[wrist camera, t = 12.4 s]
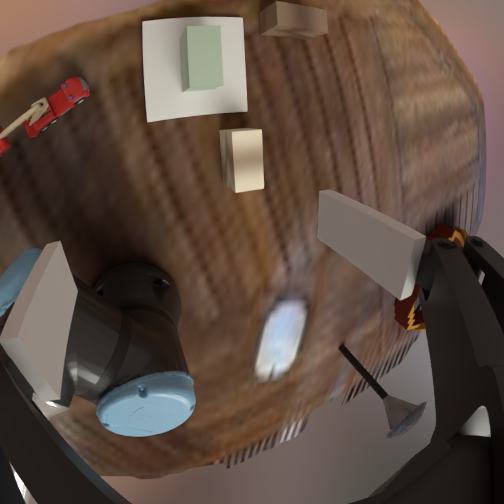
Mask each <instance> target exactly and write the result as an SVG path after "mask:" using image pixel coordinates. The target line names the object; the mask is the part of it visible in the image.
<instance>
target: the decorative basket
mask: <svg viewBox="0 0 504 504" xmlns="http://www.w3.org/2000/svg"><path fill="white" fill-rule="evenodd" d="M458 232H460V233H461V235H462V236H461V235H460V234H459V233H458ZM467 236H469V235H468V234H467V232H466V231H465V230H463V229H461V228H458V227H455V228H450V227H448V226H446V225H445V224H443V223H441V222H440V223H439V225H438V226H437V228H436V230H435V229H433V231H432V233H431V235H430V236H428V235H427V237H426V239H428V240H429V241H431V242H432V240H433V239H434V238H447V239H449V240H451V241H453V242H455V243H456V244H457V245H458V246H459V247H463V245H464V241H465V238H466V237H467ZM462 237H463V238H462ZM419 289H420V286H419V285H418V284H417V283H415V285H414V288H413V292H412V295H411V296H409V297H407V298H405V299H402V300H399V299H397V301H396V303H395V307H396V310H395V313H396V316H395V320H396V321H397V322H399V323H400V324H401V325H402V326H403V327H404V328H405V329H406V330H410V329H415V330H422V331H426V329H425V325H424V319H423V314H422V310H419V309H420V306H421V304H419V305H418V306H417V308H416V309H414V305H415V302H416V299H417V296H418V292H419ZM423 325H424V326H423Z"/></svg>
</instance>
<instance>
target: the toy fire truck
mask: <svg viewBox="0 0 504 504" xmlns="http://www.w3.org/2000/svg"><path fill="white" fill-rule="evenodd" d="M61 88H62V89H60V90H59V91H58V92H56V93H55V94H54V95H52V96H51V97H50V98H49V99H46V98H45V97H44V98H42V99H40V100H38V101H36V102H35V103H33V104H32V105H31V107H30V109H28V110H27V111H26V113H24V114H23V115H22V116H20V117H19V118H18V119H17V120H15V121H14V122H13V123H12V124H11V125H9V126H8V127H7V128H6V129H5V130H3V128H2V126H0V157H1V156H2V155H3V154H4V153H5V152H6V151H7V150H8V149H9V148H10V147H11V144H10V142H9V140H8V138H7V135H8V134H9V133H10V132H12V131H13V130H14V129H15V128H16V127H17V126H19V125H20V124H21V123H23V124H24V126H25V128H26V130H27V132H28V134H29V136H30V138H32V137H36V136H37V135H38V134H39V133H40V132H39V131H41V132H42V131H44V130H45V129H47V128H48V126H49V124H53V123H54V122H56V121H57V120H58V117H61V116H62V115H63V114H65V113H66V112H67V111H68V110H70V109H71V108H73V107H74V106H75V104H79V103H81V102H82V101H83V100H85V98H86V97H88V96H89V95H90V90H89V86H88V84H87V83H86V81H85V80H84V79H82V78H81V77H79V76H75V77H72V78H70V79H68V80H66V81H65V82H64V83H62V84H61Z"/></svg>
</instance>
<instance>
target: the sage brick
mask: <svg viewBox="0 0 504 504" xmlns="http://www.w3.org/2000/svg"><path fill="white" fill-rule="evenodd" d="M180 59H181V78H182V92H192V91H203V90H212V89H215V88H217V87H220V86H222V85H224V83H223V65H222V45H221V26H187V27H186V29H185V31H184V32H183V34H182V36H181V38H180Z"/></svg>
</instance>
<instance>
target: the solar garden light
mask: <svg viewBox="0 0 504 504" xmlns="http://www.w3.org/2000/svg"><path fill="white" fill-rule="evenodd" d="M339 350H340V351H341V353H342V354H343V355H344V356H345V357H346V358H347V359H348V361H349V362H350V363H351V364H352V365H353V366H354V367H355V369H356V370H357V371H358V372H359V373H360V374H361V376H362V377H363V378H364V379H365V380H366V381H367V382H368V384H369V385H370V386H371V387H372V388H373V389H374V390H375V391H376V393H377V394H378V395H379V396H380V397H381V398H382V399H383V402H384V405H385V410H386V414H387V418H388V422H389V426H390V431H389V432H388V434H387V435H386V437H385V439H388V438H392V437H397V436H400V435H403V434H404V433H406V432H407V431H408V430H410V429H411V428H412V427H413V426H414V425H415V424H416V423H417V422H418V421H419V420H420V418H421V416H422V414H423V411H424V408H425V405H426V402H423V403H421V404H420V405H418V406H417V405H414V404H411V403H409V402H406V401H403V400H400V399H397V398H395V397H392V396H389V395H388V394H387V393H386V392H385V391H384V389H383V388H382V387H381V386H380V385H379V384H378V383H377V382H376V380H375V379H374V378H373V377H372V376H371V375H370V374H369V373H368V372H367V370H366V369H365V368H364V367H363V366H362V365H361V364H360V363H359V361H358V360H357V359H356V358H355V357H354V356H353V355H352V354H351V353H350V351H349V350H348V349H347V348H346V347H345V346H344V345H342V346H340V347H339Z"/></svg>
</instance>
